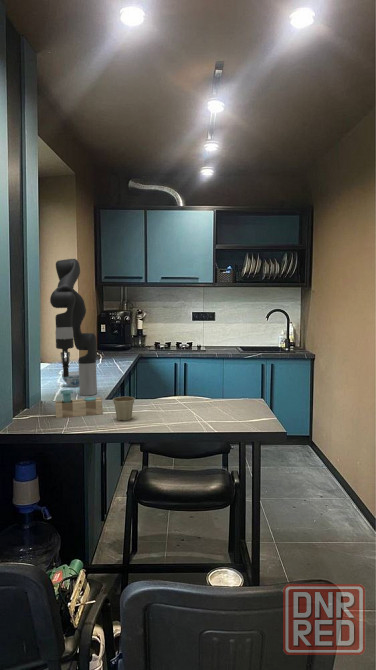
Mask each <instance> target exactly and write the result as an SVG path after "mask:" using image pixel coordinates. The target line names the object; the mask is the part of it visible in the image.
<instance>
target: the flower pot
mask: <svg viewBox="0 0 376 670" xmlns="http://www.w3.org/2000/svg"><path fill="white" fill-rule="evenodd" d="M135 400H136V398H135V397H132V396H119V397H114V398H112V402H113V405H114V410H115V416H116V420H118V421H129V420H131V419H132V417H133V409H134V408H133V407H134V403H135Z"/></svg>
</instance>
